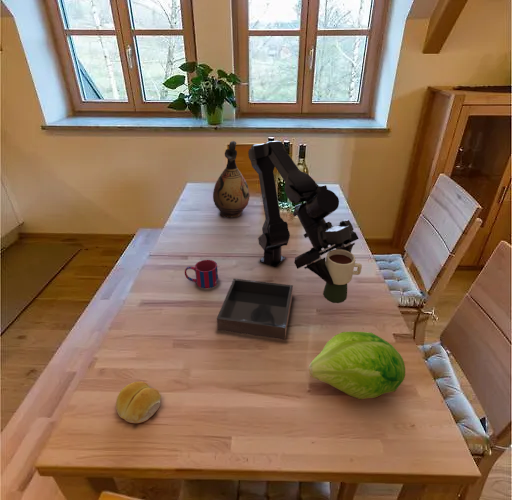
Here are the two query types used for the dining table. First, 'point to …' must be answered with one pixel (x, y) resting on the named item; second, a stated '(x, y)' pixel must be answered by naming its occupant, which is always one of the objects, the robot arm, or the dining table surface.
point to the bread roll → (137, 402)
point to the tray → (256, 309)
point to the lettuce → (359, 365)
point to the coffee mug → (340, 274)
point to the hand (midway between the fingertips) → (342, 279)
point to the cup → (205, 273)
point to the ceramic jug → (231, 187)
